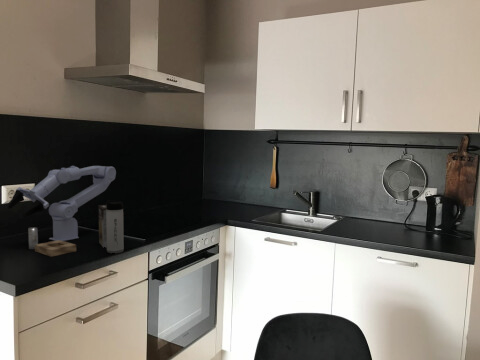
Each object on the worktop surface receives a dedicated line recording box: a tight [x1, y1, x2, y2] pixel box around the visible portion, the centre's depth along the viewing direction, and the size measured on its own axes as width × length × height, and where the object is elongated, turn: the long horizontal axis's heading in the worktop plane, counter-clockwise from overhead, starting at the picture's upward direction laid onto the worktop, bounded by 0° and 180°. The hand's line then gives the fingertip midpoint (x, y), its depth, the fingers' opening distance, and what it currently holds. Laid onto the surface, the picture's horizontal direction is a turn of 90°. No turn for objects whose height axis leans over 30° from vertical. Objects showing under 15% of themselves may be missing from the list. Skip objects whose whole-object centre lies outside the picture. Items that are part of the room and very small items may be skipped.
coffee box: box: [98, 204, 107, 248], centre depth 164 cm, size 9×6×16 cm
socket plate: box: [34, 240, 77, 258], centre depth 154 cm, size 10×12×2 cm
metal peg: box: [27, 227, 39, 250], centre depth 158 cm, size 3×3×8 cm
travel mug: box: [105, 199, 125, 254], centre depth 154 cm, size 6×7×20 cm
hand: (16, 211), depth 154 cm, fingers open, 7 cm apart
